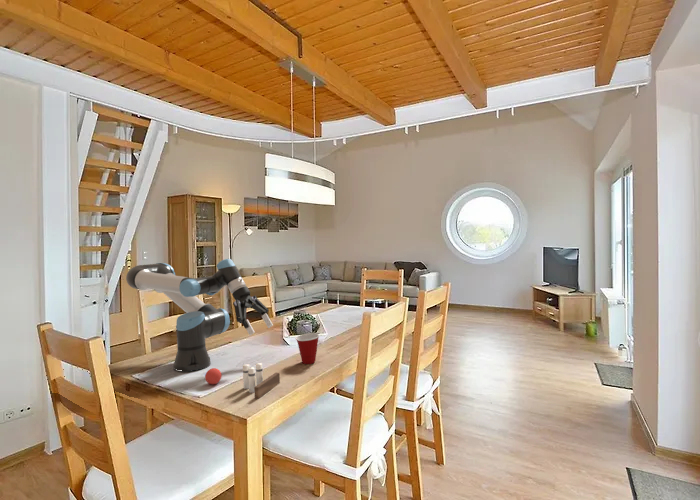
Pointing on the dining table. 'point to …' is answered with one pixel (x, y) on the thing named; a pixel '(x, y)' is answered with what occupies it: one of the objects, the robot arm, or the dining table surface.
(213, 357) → the dining table surface
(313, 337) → the plastic cup
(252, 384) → the pin
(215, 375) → the ball
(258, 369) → the pin
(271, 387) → the stopper wall
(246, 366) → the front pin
